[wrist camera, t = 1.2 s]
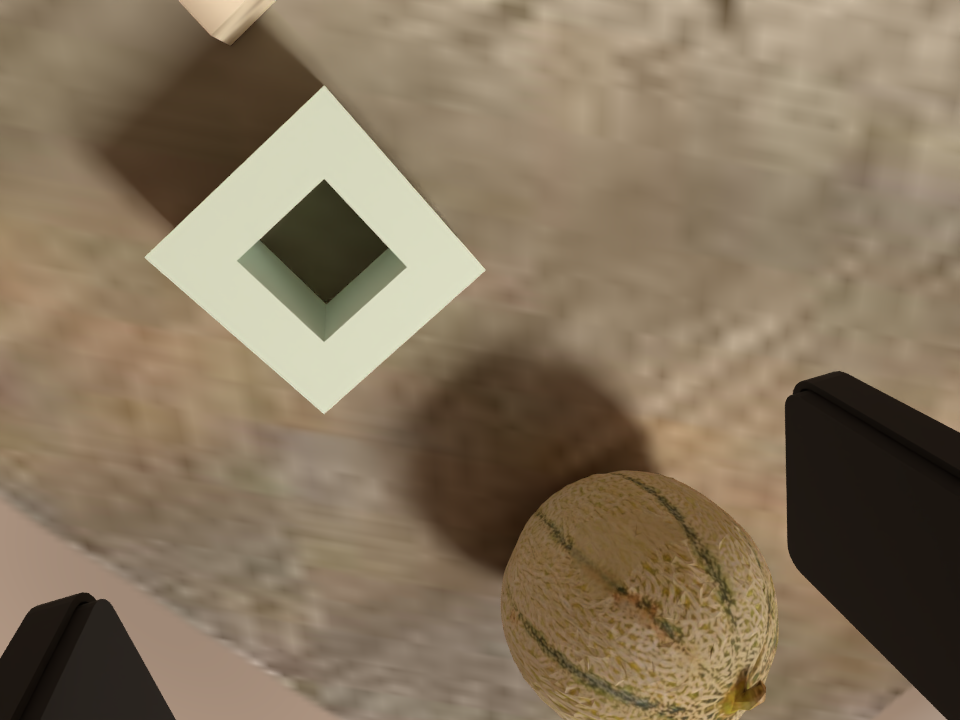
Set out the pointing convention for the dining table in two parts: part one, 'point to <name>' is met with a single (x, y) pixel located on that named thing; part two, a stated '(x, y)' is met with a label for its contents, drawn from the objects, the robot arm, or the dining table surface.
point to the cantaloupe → (639, 603)
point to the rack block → (288, 300)
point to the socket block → (226, 16)
